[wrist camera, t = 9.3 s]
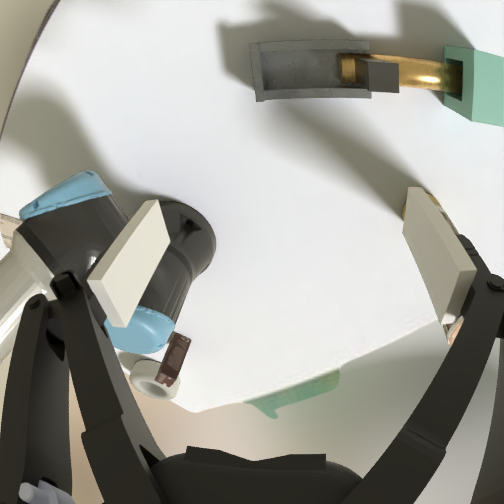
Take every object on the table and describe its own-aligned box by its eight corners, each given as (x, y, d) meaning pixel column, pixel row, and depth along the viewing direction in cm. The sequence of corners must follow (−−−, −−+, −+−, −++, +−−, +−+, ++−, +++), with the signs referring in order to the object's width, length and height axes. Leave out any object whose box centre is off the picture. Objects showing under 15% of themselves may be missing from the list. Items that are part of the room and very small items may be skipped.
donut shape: (172, 361, 84) (165, 380, 79) (186, 387, 93) (181, 405, 88) (127, 354, 87) (119, 372, 81) (145, 380, 96) (139, 397, 90)
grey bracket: (261, 94, 40) (256, 101, 35) (255, 44, 35) (249, 43, 31) (364, 92, 37) (373, 99, 33) (362, 41, 33) (370, 41, 28)
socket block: (443, 105, 35) (471, 121, 28) (444, 45, 30) (474, 49, 23) (476, 110, 34) (507, 127, 27) (478, 53, 29) (512, 60, 22)
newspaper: (11, 249, 69) (6, 254, 66) (3, 209, 62) (-3, 213, 60) (71, 271, 68) (66, 277, 66) (65, 228, 62) (59, 233, 60)
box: (175, 331, 74) (159, 372, 65) (192, 339, 75) (178, 380, 66) (168, 342, 78) (153, 381, 68) (183, 349, 79) (170, 388, 69)
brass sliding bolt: (339, 81, 36) (353, 95, 26) (337, 52, 33) (351, 55, 24) (473, 94, 32) (520, 117, 22) (474, 68, 30) (523, 83, 20)
